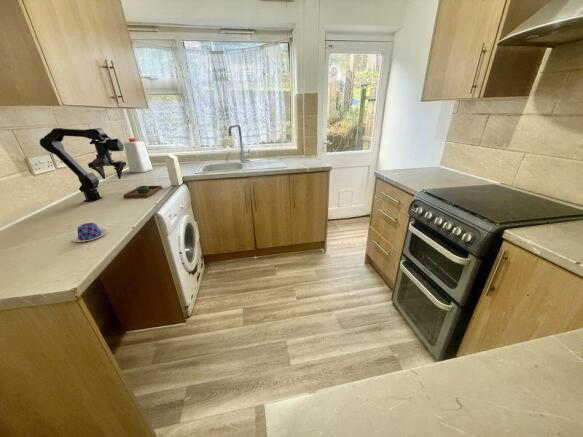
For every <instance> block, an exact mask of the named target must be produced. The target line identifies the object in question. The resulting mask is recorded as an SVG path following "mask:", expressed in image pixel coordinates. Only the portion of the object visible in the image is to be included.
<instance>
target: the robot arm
mask: <svg viewBox="0 0 583 437" xmlns="http://www.w3.org/2000/svg"><path fill="white" fill-rule="evenodd" d="M64 137H77V138H86V139H89V140H90V142H89V143H88V144H89V145H94V147H95V151H96V153H97V154H95V157H96V158H94V159H93V160H91V162H88V163H87V167H88V169H91V170H94V171H96V172H97V173H98V174H99V176H100V177H101V178H102V180H106V174H105V168H104V167H113V169H114V170H115V172H116V176H117V179H119V180H121V178H122V174H123V170H124V168H125V167H126V166H127V162H126V161H125V160H116V161H115V160H114V159H112V155H113V154H112V152H123V151H124V150H125V146H124V144H123V142H122V140H120V138H111V137H110V136H109V135H108V134H107V133H106V131H105V130H103V128H100V127H97V128H96V127H95V128H87V129H80V128H63V127H55V128H54V127H53V128H52V130H50V132H48V133H47V134H46V135H45V136H43V137H42V138H40V139H39V146H41V148H43V149H44V150H45V151H47V152H48V153H51V154H53V155H55V156H56V157H57V158H58V159H59V160H60V161H61V162H62V163H63V164H64V165H65V166H66V167H67V168H69V169H70V170H71V171H72V172H73V174H75V175H76V176H77V178H78V181H79V183H80V186H79V188H78V190H79V192H80V193H83V195H84V198H85V199H84V202H95V201H98V200H100V199H102V198H103V197H102V196H101V194H100V192H99V190H98V188H99V185H100V179H99V177H98V176H97V175H96V174H95V173H94V172H88V171H86V170H85V169H84V167H83V166H81V165H80V164H79V162H78V161H76V160H75V159H74V158H73V157H72V155H70V154H69V153H68V152H67V151H66V150H65V147H64V144H63V142H62V141H63V140H64Z"/></svg>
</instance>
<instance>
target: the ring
mask: <svg viewBox="0 0 583 437" xmlns="http://www.w3.org/2000/svg"><path fill="white" fill-rule="evenodd" d="M149 186H150V185H140V186H137V187H136V188H137V191H138V193H139V194H143V193H148V192H150V190H149Z"/></svg>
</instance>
